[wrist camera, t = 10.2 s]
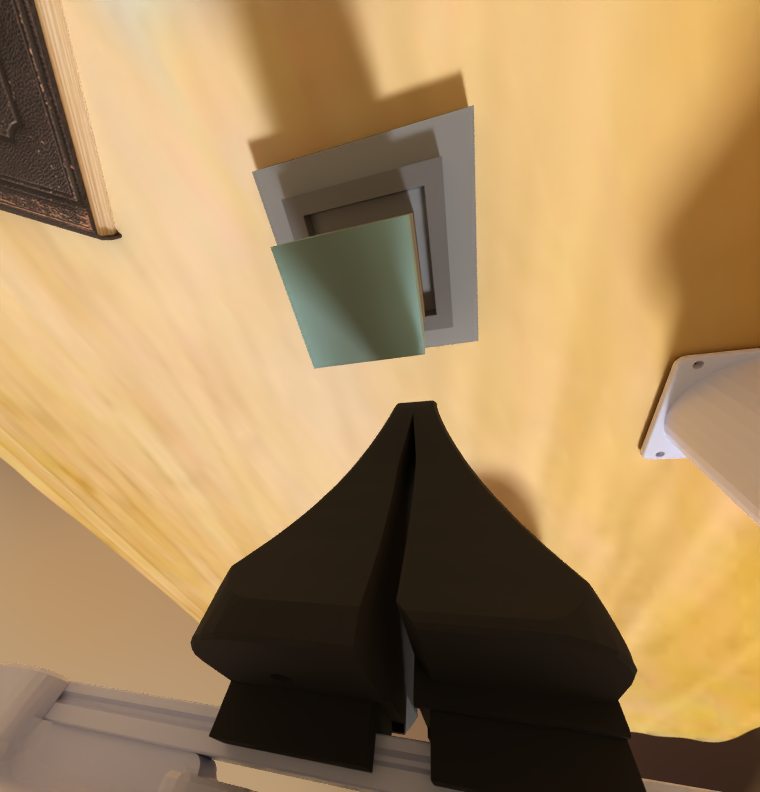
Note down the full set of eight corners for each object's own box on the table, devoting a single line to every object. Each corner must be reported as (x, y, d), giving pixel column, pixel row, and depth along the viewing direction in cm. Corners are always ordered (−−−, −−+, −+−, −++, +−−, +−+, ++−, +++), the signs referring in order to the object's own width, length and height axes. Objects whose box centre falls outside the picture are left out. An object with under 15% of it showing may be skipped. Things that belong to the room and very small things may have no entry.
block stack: (413, 212, 14) (407, 215, 8) (424, 304, 16) (424, 354, 11) (326, 232, 14) (270, 247, 9) (348, 317, 17) (314, 368, 11)
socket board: (469, 113, 12) (477, 97, 11) (475, 333, 18) (481, 347, 16) (263, 174, 14) (240, 169, 13) (323, 354, 20) (312, 369, 18)
